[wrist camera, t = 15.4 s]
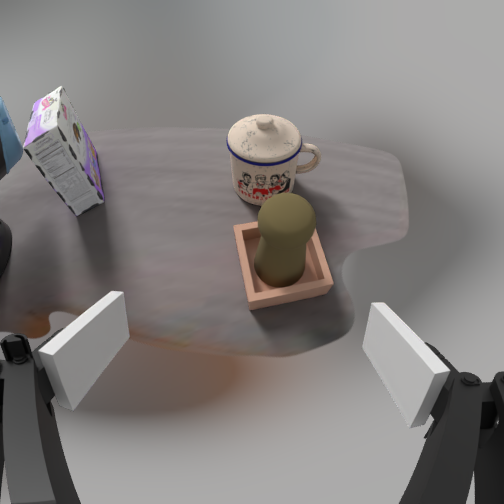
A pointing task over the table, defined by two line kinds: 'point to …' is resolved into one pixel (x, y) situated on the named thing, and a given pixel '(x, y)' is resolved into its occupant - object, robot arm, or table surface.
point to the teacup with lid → (266, 157)
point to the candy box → (64, 152)
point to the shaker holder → (263, 295)
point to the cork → (283, 239)
